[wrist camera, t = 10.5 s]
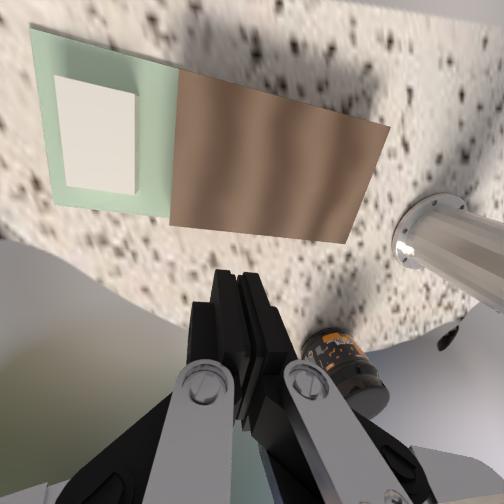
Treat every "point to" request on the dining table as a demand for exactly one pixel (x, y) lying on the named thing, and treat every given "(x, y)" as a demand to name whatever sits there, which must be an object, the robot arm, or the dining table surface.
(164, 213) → the mat
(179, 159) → the deck
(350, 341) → the supplement container
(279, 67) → the dining table surface
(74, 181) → the white rectangular block
